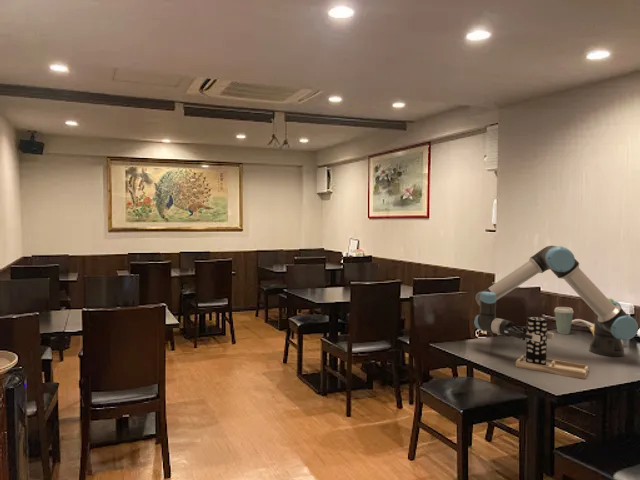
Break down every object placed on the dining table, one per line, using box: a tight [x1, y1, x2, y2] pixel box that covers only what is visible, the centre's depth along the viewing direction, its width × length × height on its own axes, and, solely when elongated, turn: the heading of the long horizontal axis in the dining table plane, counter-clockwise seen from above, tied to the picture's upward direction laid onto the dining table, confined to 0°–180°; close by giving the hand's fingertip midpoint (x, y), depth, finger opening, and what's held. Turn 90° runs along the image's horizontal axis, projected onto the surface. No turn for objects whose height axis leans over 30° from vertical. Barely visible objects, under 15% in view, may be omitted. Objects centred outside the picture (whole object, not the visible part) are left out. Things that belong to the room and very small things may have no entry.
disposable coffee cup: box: [553, 306, 575, 335], centre depth 283 cm, size 11×11×15 cm
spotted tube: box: [525, 316, 548, 365], centre depth 214 cm, size 8×8×20 cm
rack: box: [515, 354, 590, 380], centre depth 210 cm, size 14×27×2 cm, turn 55°
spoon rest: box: [571, 318, 594, 331], centre depth 288 cm, size 24×12×7 cm, turn 61°
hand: (546, 337), depth 210 cm, fingers open, 9 cm apart
